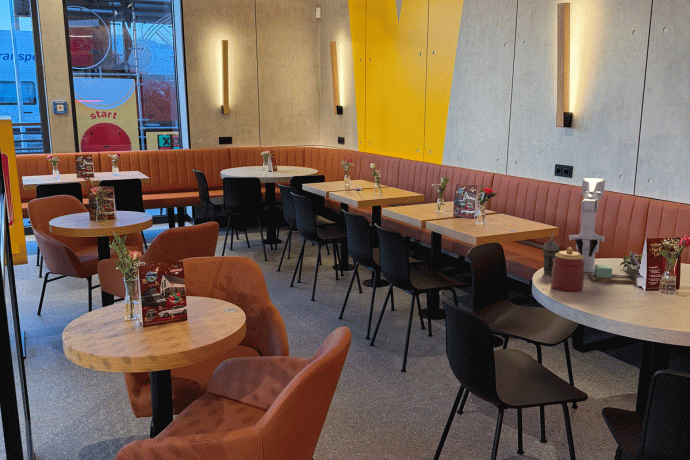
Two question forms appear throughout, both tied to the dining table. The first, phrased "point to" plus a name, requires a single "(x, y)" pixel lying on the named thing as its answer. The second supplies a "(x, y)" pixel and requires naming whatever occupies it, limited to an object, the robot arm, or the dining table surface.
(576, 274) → the canister
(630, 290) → the dining table surface
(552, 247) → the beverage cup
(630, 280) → the rail board
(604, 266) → the keeper
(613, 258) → the dining table surface
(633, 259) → the passion flower
